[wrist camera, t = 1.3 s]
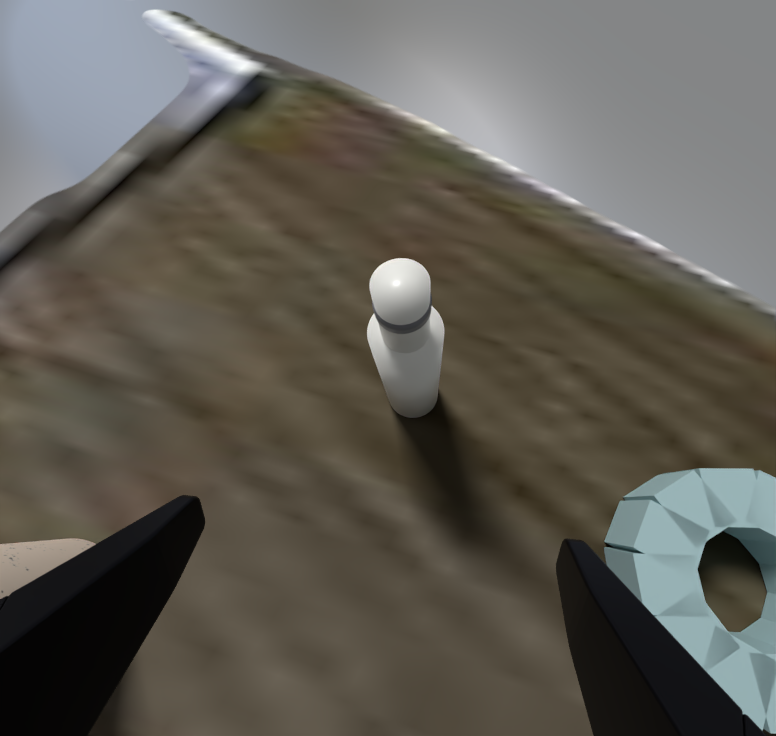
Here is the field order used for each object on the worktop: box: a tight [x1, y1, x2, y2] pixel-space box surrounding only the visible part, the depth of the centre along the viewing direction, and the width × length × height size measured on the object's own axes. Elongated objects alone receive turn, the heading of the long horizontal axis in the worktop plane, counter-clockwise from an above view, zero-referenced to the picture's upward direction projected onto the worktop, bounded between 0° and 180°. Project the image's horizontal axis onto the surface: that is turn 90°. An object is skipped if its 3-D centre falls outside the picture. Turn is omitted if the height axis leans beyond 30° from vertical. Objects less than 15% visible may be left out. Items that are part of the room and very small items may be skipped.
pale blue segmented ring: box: [604, 468, 776, 734], centre depth 18 cm, size 10×10×3 cm
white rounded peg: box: [367, 258, 444, 418], centre depth 18 cm, size 3×3×12 cm
